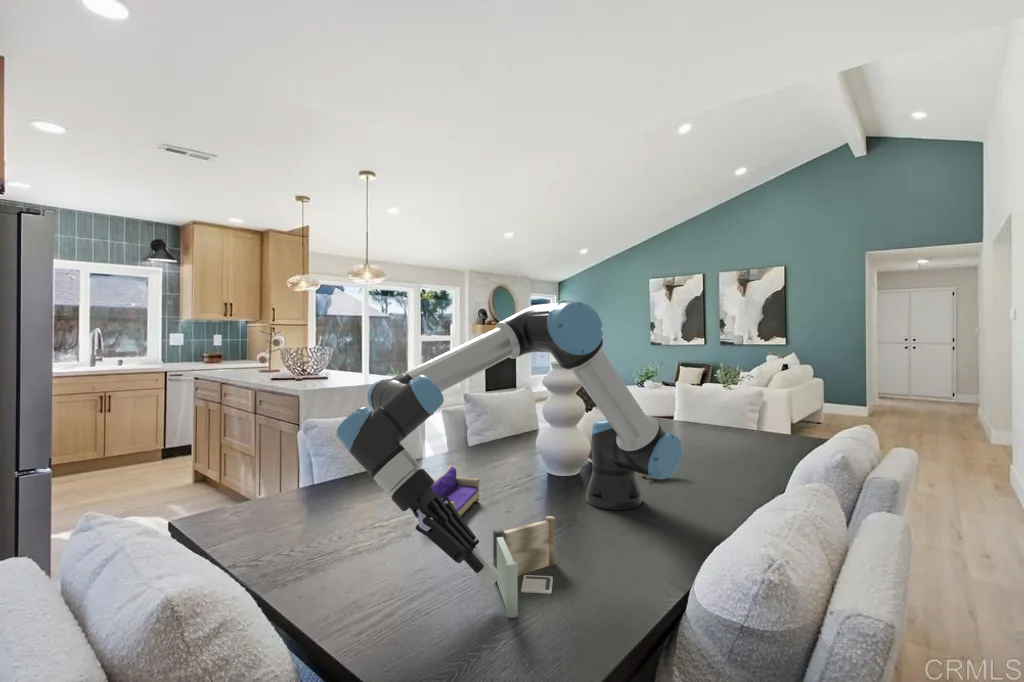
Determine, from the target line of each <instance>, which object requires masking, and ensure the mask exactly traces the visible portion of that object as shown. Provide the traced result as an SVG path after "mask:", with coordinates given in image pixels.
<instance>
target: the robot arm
mask: <svg viewBox="0 0 1024 682" xmlns="http://www.w3.org/2000/svg"><path fill="white" fill-rule="evenodd" d="M602 328H603V323H602V319H601V317H600V315H599V314H598V312H597V311H596V310H595V309H594V307H592V306H590V305H589V304H588V303H585V302H581V301H574V300H565V301H560V302H554V303H553V302H552V303H537V304H535V305H532V306H531V305H530V306H529V307H528V306H527V307H526V308H524V309H523V310H520V311H518V312H517V313H514V314H513V315H511V316H509V317H507V318H505V319H503V320H501V321H499V322H498V323H496V324H495V327H494V329H492V330H490V331H487V332H485V333H483V334H482V335H479V336H477V337H475V338H473V339H471V340H469V341H467V342H465V343H463V344H461V345H459V346H456V347H454V348H453V349H450V350H449V351H446V352H444V353H443V354H440V355H437V356H436V357H434V358H432V359H430V360H428V361H426V362H423V363H421V364H420V365H417V366H415V367H413V368H411V369H409V370H406V371H405V372H403V373H400V374H398V375H396V376H395V377H392V378H390V379H388V378H386V379H385V378H384V379H379V380H377V381H375V382H374V383H373V384H371V386H370V387H369V389H368V392H367V403H368V405H369V407H370V408H371V409H370V408H369V407H367V406H362V407H359V408H358V409H356V410H355V411H353V412H351V413H350V414H349V415H348V416H347V417H345V419H343V420H342V422H341V423H340V424H339V426H338V427H337V428H336V437H337V438H338V439H339V441H340V442H341V444H343V446H344V448H346V449H347V451H348V453H349V454H351V456H352V457H353V458H354V459H355V460H356V462H358V463H359V464H360V466H361V467H362V468H363V469H364V470H365V471H366V472H367V473H368V474H369V476H371V478H373V479H374V481H375V482H376V483H377V486H378V487H381V489H383V491H384V492H385V493H386V494H392V495H391V496H390V497H391V500H392V502H394V504H396V506H397V507H398V508H399V509H400V510H401V511H402V512H406V511H407V510H408V509H410V510H411V512H412V513H413V515H414V517H415V518H416V519H418V523H417V524H416V526H415V529H416V531H417V532H418V533H421V534H422V535H424V536H426V537H427V539H429V540H431V542H432V543H434V545H436V546H437V547H438V548H439V549H440V550H442V551H443V552H444V553H445V554H446V555H447V556H448V557H450V558H451V559H452V560H453V561H454V562H455V563H458V564H462V562H463V561H464V562H465V563H466V564H467V565H468V567H469V568H470V569H471V570H472V571H473V572H474V573H475V575H476V576H478V578H479V579H480V580H481V581H482V582H483V583H484V584H485V586H486V587H487V589H488V588H489V589H490V588H491V587H492V586H493V585H494V584H495V583H496V581H497V580H499V579H500V577H501V573H500V572H499V571H498V570H497V569H496V568H495V567H494V565H493V563H492V562H491V561H490V560H489V559H488V558H487V556H486V555H485V554H484V553H483V552H482V551H481V550H480V549H479V548H478V546H477V545H478V544H479V543H480V541H479V539H478V538H477V537H476V535H475V534H474V533H473V530H472V529H471V528H470V527H469V525H468V524H467V522H465V520H464V519H463V518H462V515H461V516H460V515H459V513H458V512H457V511H456V509H455V508H454V507H453V505H452V503H451V501H450V499H449V498H448V496H444V497H443V498H440V497H439V496H438V495H437V494H436V493H435V492H433V491H432V490H431V489H430V487H431V486H432V485H433V484H434V480H435V479H433V478H432V476H430V475H429V473H428V472H427V471H426V470H425V468H419V466H420V462H418V460H416V459H415V457H414V456H413V455H412V454H411V453H410V452H409V451H408V450H407V448H405V446H403V444H402V443H401V442H402V441H403V440H405V438H407V437H408V436H409V435H410V434H411V433H413V432H414V431H415V430H416V429H417V428H419V426H420V425H422V424H423V423H424V422H425V421H427V419H429V418H430V417H431V416H433V415H434V414H435V412H436V411H437V410H438V409H439V408H441V406H443V404H444V402H445V401H444V395H443V392H444V391H446V390H448V389H451V388H452V387H454V386H456V385H457V384H460V383H462V382H463V381H466V380H467V379H469V378H472V377H473V376H475V375H478V374H479V373H481V372H483V371H484V370H487V369H488V368H491V367H493V366H495V365H496V364H498V363H500V362H502V361H504V360H506V359H508V358H509V359H512V360H514V359H517V358H519V357H522V356H523V355H526V354H530V353H550V355H552V357H553V359H555V361H556V362H557V363H558V365H559V366H560V368H561V369H563V370H566V371H567V370H568V371H571V372H572V373H573V375H574V376H575V378H576V379H577V381H579V383H580V385H581V386H582V387H583V388H584V390H585V391H586V392H587V393H586V394H588V395H589V397H590V398H591V400H592V402H594V404H595V405H596V407H597V408H598V410H599V411H600V413H601V414H602V415H603V416H604V418H605V419H598V420H596V421H595V422H593V424H592V431H591V432H592V433H591V453H592V454H591V458H592V463H591V464H592V465H591V466H592V472H591V476H590V479H589V483H588V485H587V488H586V492H585V493H586V494H585V495H586V496H585V498H586V499H585V500H586V502H587V503H588V504H589V505H591V506H594V507H596V508H600V509H606V510H611V511H612V510H615V511H623V510H624V511H625V510H631V509H635V508H637V507H640V506H641V504H642V493H641V490H640V487H639V484H638V481H637V478H636V474H635V473H638V474H640V475H643V474H644V475H646V476H648V477H650V478H651V479H653V478H657V479H658V480H665V479H669V478H671V477H672V476H674V474H675V473H676V471H677V470H678V469H679V467H680V464H681V462H682V455H683V444H682V441H681V439H680V438H679V436H677V435H676V434H674V433H672V432H666V431H664V429H663V428H662V426H661V424H660V423H659V422H658V421H657V419H656V417H653V416H651V415H646V413H645V412H644V411H643V408H641V406H640V405H639V403H638V402H637V400H636V398H635V397H634V396H633V394H632V392H631V391H630V390H629V388H628V387H627V385H626V384H625V382H624V380H623V379H622V378H621V376H620V375H619V373H618V372H617V369H615V367H614V366H613V364H612V363H611V361H610V360H609V358H608V357H607V355H606V353H604V351H603V346H604V339H603V334H604V331H603V330H602Z"/></svg>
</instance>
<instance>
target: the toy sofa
mask: <svg viewBox="0 0 1024 682" xmlns="http://www.w3.org/2000/svg"><path fill="white" fill-rule="evenodd" d="M457 474H458V473H457V469H456V467H454V466H452V465H451V466H448V467H447V469H446V470H445V471H444V472H443V473H441V475H440V476H438V477H437V478H435V479H433V480H434V484H433V485H432V486H431V487H430V489H431V490H432V491H433V492H435V493H436V494H437V495H438V496H439V497H440V498H443V497H444V496H448V498H449V499H450V501H451V503H452V505H453V507H454V508H455V509H456V511H457V512H458V513H459V515H460V516H461V517H462V515H464V513H465V512H466V511H467V510H468V509H469V508H470V507H471V506H472V505H473V504H474V503H473V502H480V482H481V481H480V478H471V477H470V478H469V477H457Z"/></svg>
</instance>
